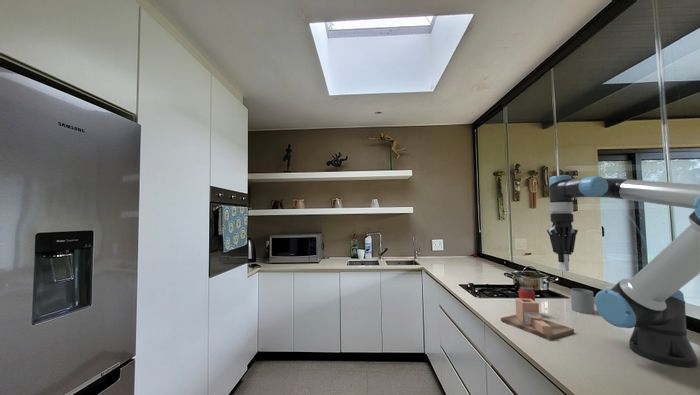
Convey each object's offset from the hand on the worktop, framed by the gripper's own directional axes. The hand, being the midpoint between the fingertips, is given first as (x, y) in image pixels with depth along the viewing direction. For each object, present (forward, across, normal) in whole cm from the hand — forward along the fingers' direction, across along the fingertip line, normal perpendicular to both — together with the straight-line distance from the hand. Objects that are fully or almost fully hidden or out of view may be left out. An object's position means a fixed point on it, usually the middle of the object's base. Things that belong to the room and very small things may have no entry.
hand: (564, 270), depth 112 cm
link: (+23, +11, -5) cm, 26 cm away
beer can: (+25, -1, -21) cm, 32 cm away
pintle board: (+24, +9, -6) cm, 27 cm away
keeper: (+24, +12, -4) cm, 27 cm away
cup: (+25, -31, -18) cm, 43 cm away
